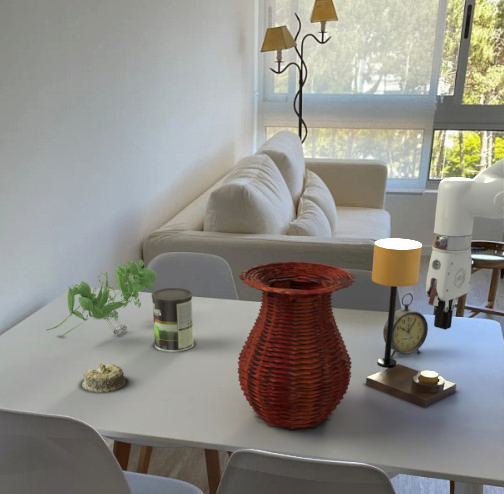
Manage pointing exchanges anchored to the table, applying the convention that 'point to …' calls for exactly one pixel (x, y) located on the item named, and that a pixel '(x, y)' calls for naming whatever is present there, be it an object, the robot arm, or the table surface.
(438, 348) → the table surface
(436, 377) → the lamp switch
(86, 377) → the cake
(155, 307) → the coffee can
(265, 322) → the vase
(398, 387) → the lamp base
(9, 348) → the table surface
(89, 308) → the plant cuttings
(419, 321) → the alarm clock
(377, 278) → the lamp
